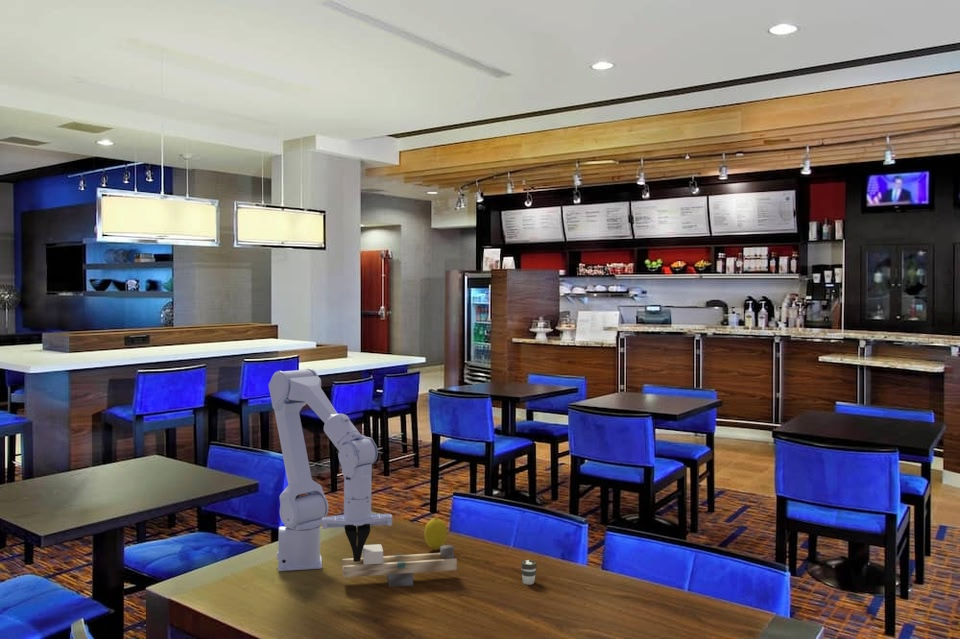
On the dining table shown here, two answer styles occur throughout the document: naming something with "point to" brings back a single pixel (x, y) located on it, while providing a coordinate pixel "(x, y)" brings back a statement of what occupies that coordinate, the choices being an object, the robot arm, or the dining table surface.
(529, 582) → the coffee cup
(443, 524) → the lemon
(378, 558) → the rider
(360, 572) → the beam
